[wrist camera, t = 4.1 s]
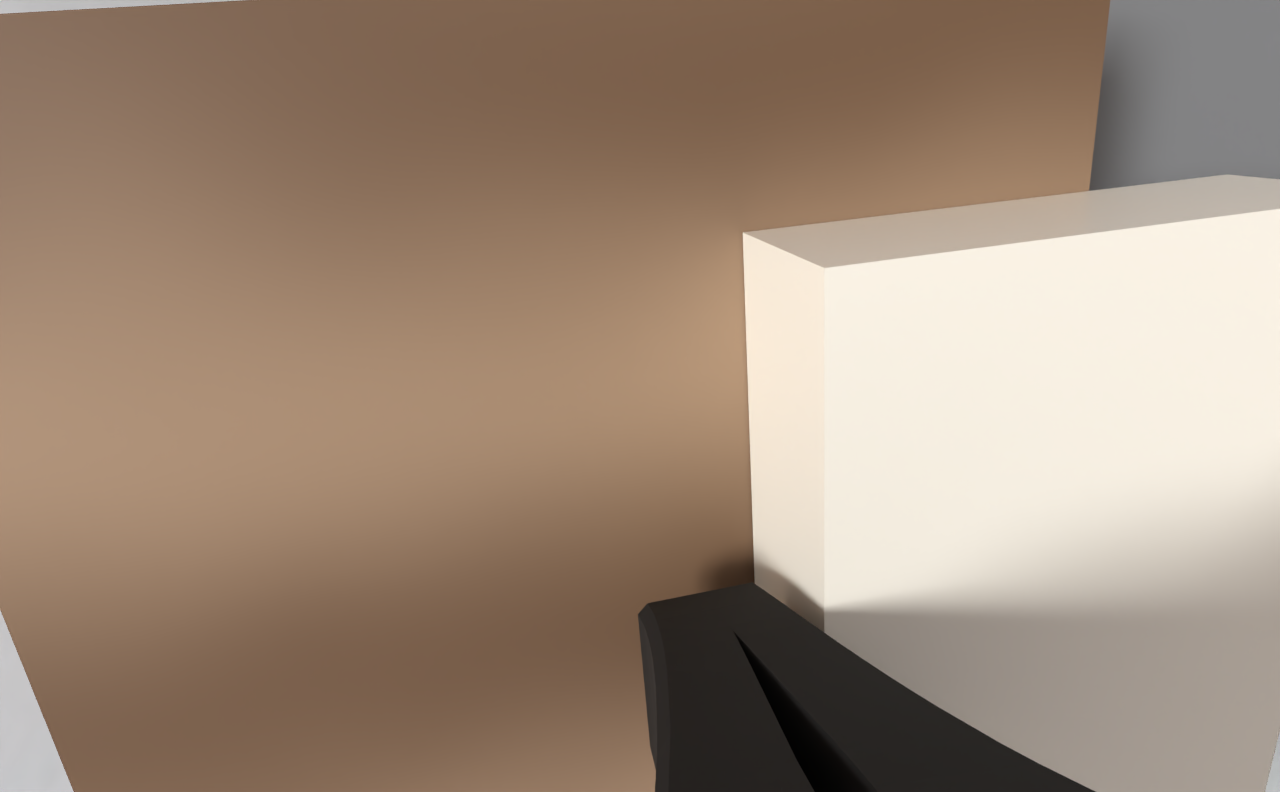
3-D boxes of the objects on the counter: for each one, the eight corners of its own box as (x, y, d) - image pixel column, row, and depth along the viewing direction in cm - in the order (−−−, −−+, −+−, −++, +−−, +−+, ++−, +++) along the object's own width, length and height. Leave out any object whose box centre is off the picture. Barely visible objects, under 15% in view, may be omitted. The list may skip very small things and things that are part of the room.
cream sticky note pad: (1129, 769, 13) (1244, 880, 11) (764, 866, 12) (824, 1008, 10) (1227, 174, 10) (1409, 191, 8) (743, 232, 9) (824, 268, 7)
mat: (1300, 677, 20) (1318, 688, 19) (910, 775, 18) (920, 789, 17) (1496, -106, 14) (1525, -112, 14) (954, -83, 12) (970, -88, 12)
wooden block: (885, 744, 17) (1007, 919, 14) (272, 893, 15) (218, 1149, 11) (913, -5, 12) (1116, -48, 9) (9, 53, 10) (-234, 26, 6)
